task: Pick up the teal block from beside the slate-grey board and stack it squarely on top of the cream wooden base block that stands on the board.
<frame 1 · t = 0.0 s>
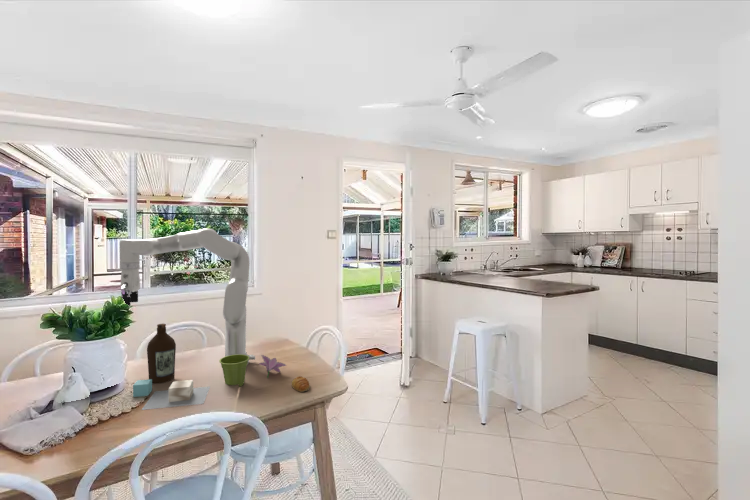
hand: (130, 303, 168), 31 cm above the table, tool pointing down, fingers open, 9 cm apart
lily: (271, 375, 167), on the table
olive oil: (161, 383, 157), on the table
pastry: (301, 388, 154), on the table
plant pot: (234, 385, 156), on the table
teal block: (142, 397, 143), on the table
slate board: (178, 401, 140), on the table
cream base block: (181, 397, 140), point 1 cm above the table, touching slate board
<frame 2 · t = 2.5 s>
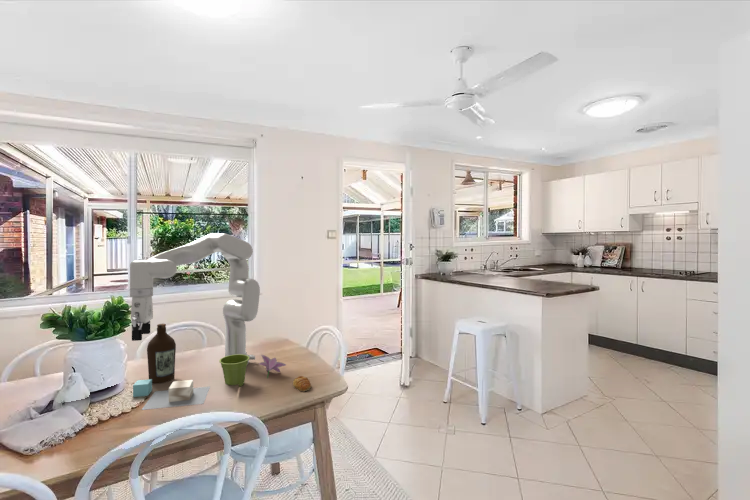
hand: (141, 336, 142), 24 cm above the table, tool pointing down, fingers open, 9 cm apart
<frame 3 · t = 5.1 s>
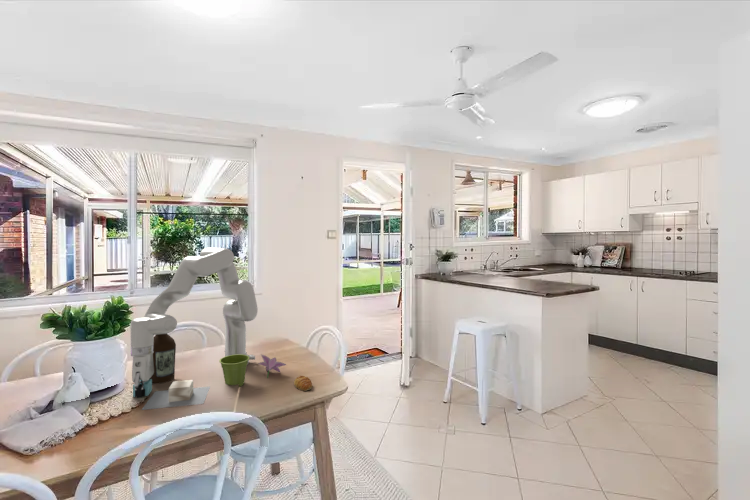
hand: (142, 396, 143), 0 cm above the table, tool pointing down, fingers closed on teal block, 5 cm apart
teal block: (142, 397, 143), on the table, touching gripper
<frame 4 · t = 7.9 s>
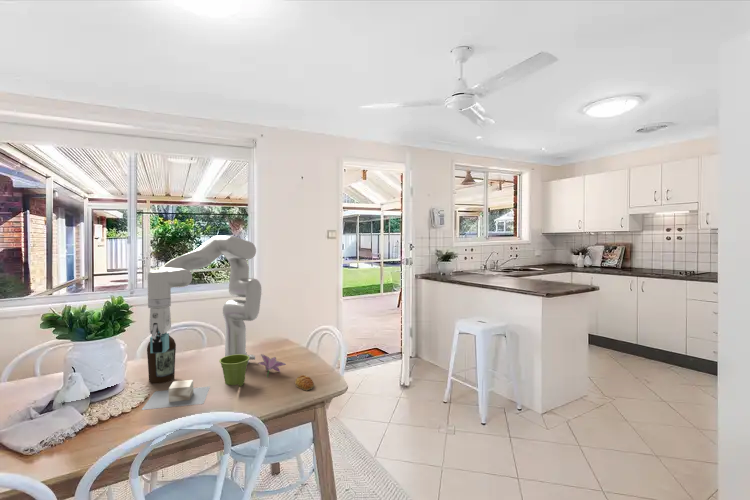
hand: (160, 349, 141), 19 cm above the table, tool pointing down, fingers closed on teal block, 5 cm apart
teal block: (159, 350, 141), point 19 cm above the table, touching gripper
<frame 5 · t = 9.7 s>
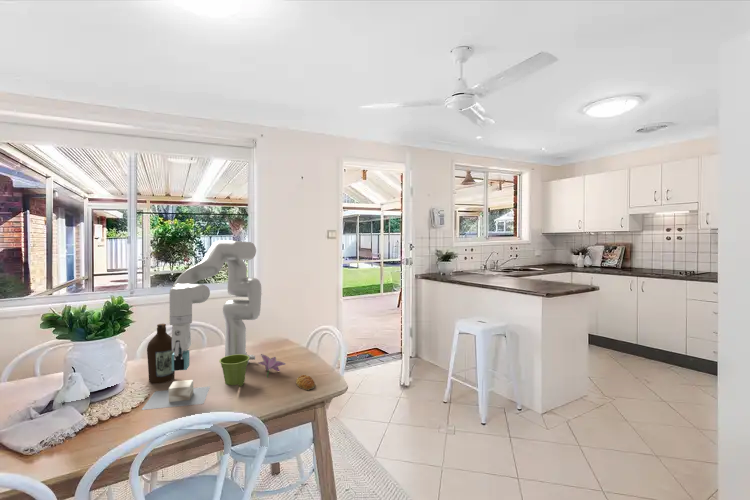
hand: (180, 366, 140), 13 cm above the table, tool pointing down, fingers closed on teal block, 5 cm apart
teal block: (180, 368, 140), point 13 cm above the table, touching gripper
when the fingers open (8 cm above the table, at t = 11.0 s): teal block stays where it is, resting on cream base block.
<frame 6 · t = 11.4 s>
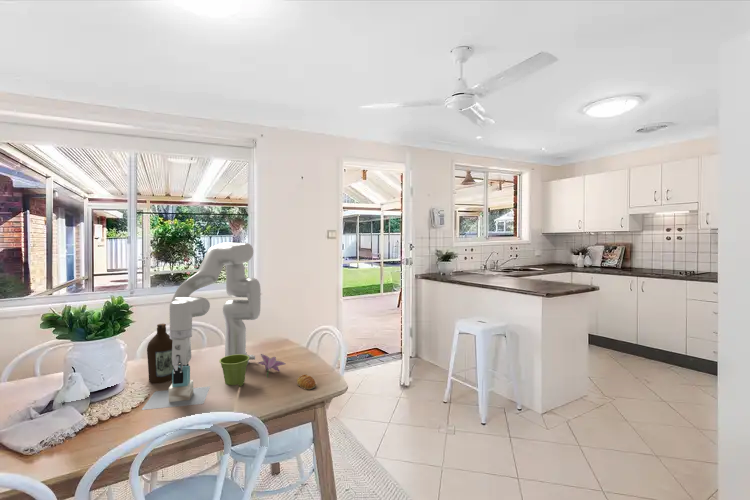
hand: (181, 378, 140), 9 cm above the table, tool pointing down, fingers open, 8 cm apart
teal block: (181, 383, 140), point 6 cm above the table, touching cream base block
cream base block: (181, 397, 140), point 1 cm above the table, touching slate board, teal block
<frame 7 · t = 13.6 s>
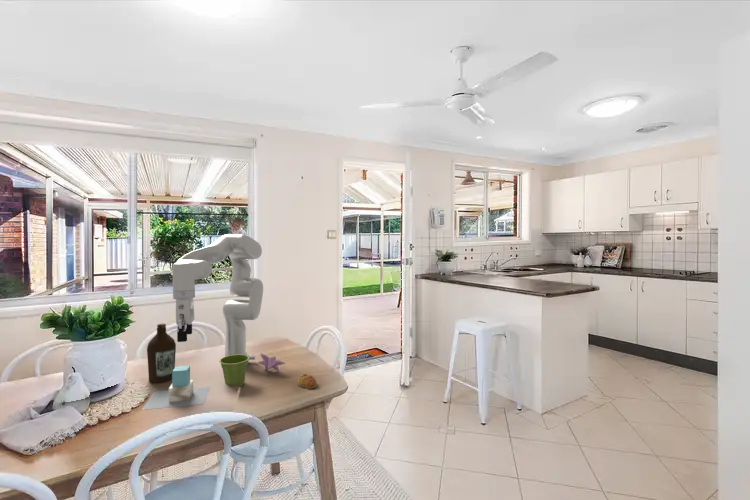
hand: (185, 337, 143), 23 cm above the table, tool pointing down, fingers open, 9 cm apart
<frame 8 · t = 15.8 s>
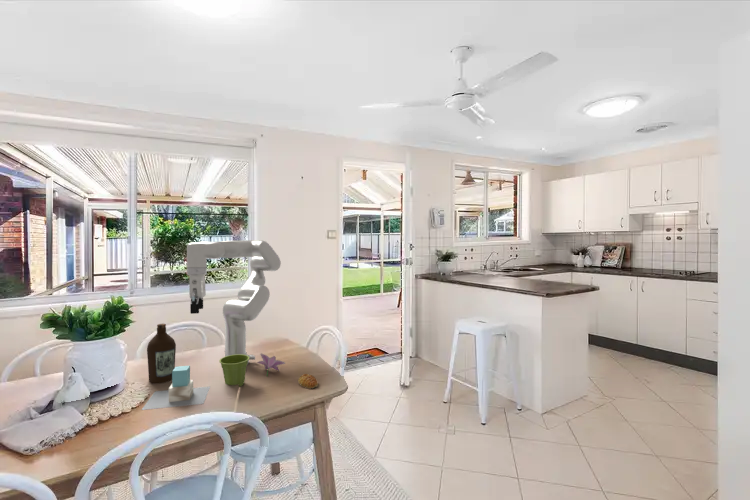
hand: (197, 311, 159), 30 cm above the table, tool pointing down, fingers open, 9 cm apart
at the end: teal block 0.1 cm off-centre on the cream base block, point 5.0 cm above the cream base block's base; teal block tilted 0°; the gripper is holding nothing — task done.
